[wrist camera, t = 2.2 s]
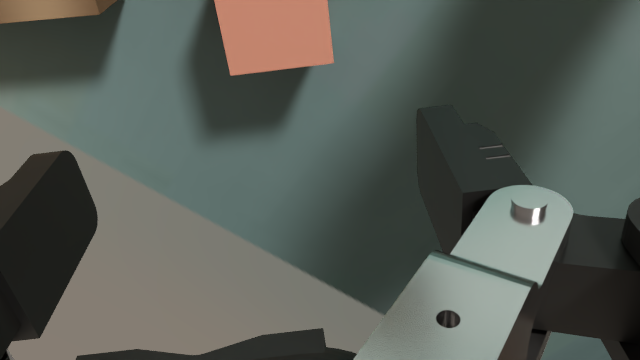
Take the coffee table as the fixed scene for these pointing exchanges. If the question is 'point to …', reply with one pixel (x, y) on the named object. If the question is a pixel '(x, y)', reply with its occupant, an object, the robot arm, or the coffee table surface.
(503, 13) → the coffee table surface
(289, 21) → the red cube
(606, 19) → the coffee table surface
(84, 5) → the walnut block
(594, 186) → the coffee table surface
